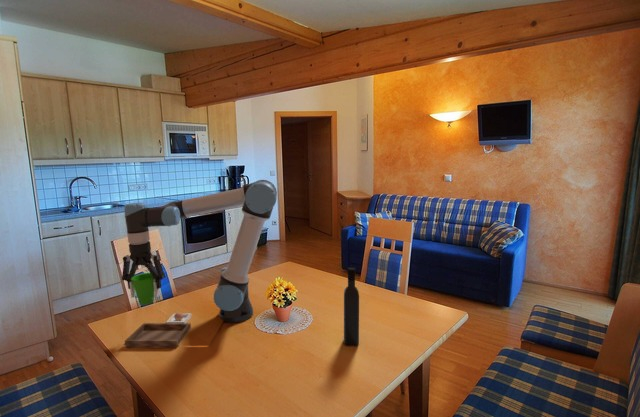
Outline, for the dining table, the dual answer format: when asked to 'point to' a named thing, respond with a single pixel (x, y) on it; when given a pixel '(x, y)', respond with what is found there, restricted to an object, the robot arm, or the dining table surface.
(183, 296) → the dining table surface
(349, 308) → the wine bottle
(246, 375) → the dining table surface
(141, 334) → the tray
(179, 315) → the ball
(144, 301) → the cup
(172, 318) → the dish
